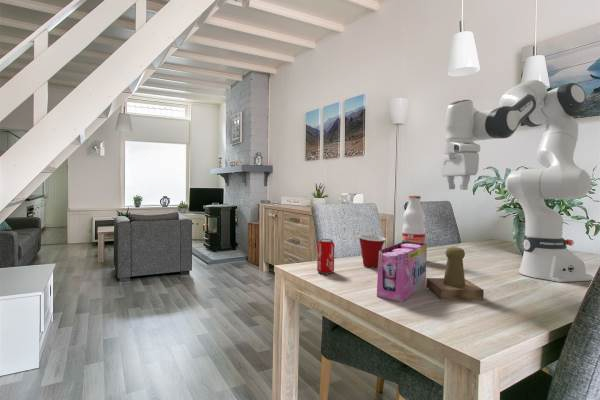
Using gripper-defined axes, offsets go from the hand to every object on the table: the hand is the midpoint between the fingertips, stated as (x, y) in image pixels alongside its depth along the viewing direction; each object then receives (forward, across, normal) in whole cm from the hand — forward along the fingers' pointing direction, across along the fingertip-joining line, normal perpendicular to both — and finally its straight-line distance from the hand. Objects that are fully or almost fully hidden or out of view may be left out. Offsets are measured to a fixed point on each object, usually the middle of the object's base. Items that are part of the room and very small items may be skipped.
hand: (457, 189), depth 118 cm
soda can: (+31, -8, -44) cm, 55 cm away
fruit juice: (+31, -30, -5) cm, 44 cm away
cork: (+28, +16, -7) cm, 33 cm away
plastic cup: (+31, -19, -25) cm, 44 cm away
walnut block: (+31, +15, -7) cm, 35 cm away
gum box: (+32, +12, -21) cm, 40 cm away
